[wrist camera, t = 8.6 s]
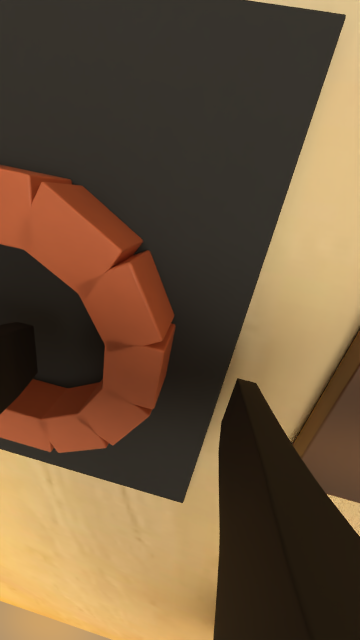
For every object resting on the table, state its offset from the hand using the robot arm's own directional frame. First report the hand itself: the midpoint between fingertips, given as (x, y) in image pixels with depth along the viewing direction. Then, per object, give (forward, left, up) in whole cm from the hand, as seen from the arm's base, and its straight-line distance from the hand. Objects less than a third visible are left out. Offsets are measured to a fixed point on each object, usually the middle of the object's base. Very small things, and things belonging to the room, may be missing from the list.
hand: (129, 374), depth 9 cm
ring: (0, +4, -2) cm, 5 cm away
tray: (0, +5, -2) cm, 5 cm away
